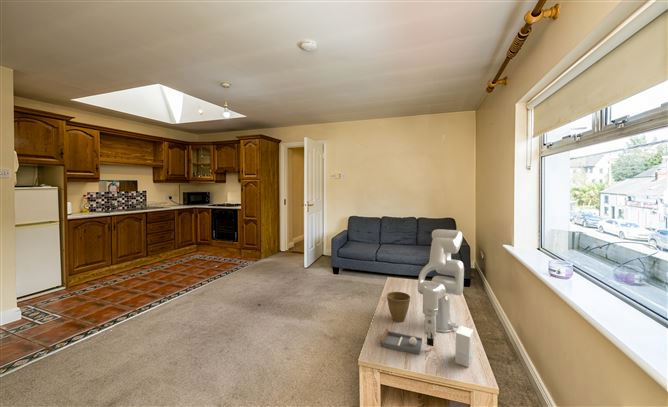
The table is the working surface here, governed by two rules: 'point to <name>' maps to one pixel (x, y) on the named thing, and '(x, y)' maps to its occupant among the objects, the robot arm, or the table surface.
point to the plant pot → (398, 305)
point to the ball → (412, 341)
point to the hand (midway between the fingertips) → (430, 344)
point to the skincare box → (464, 346)
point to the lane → (400, 342)
